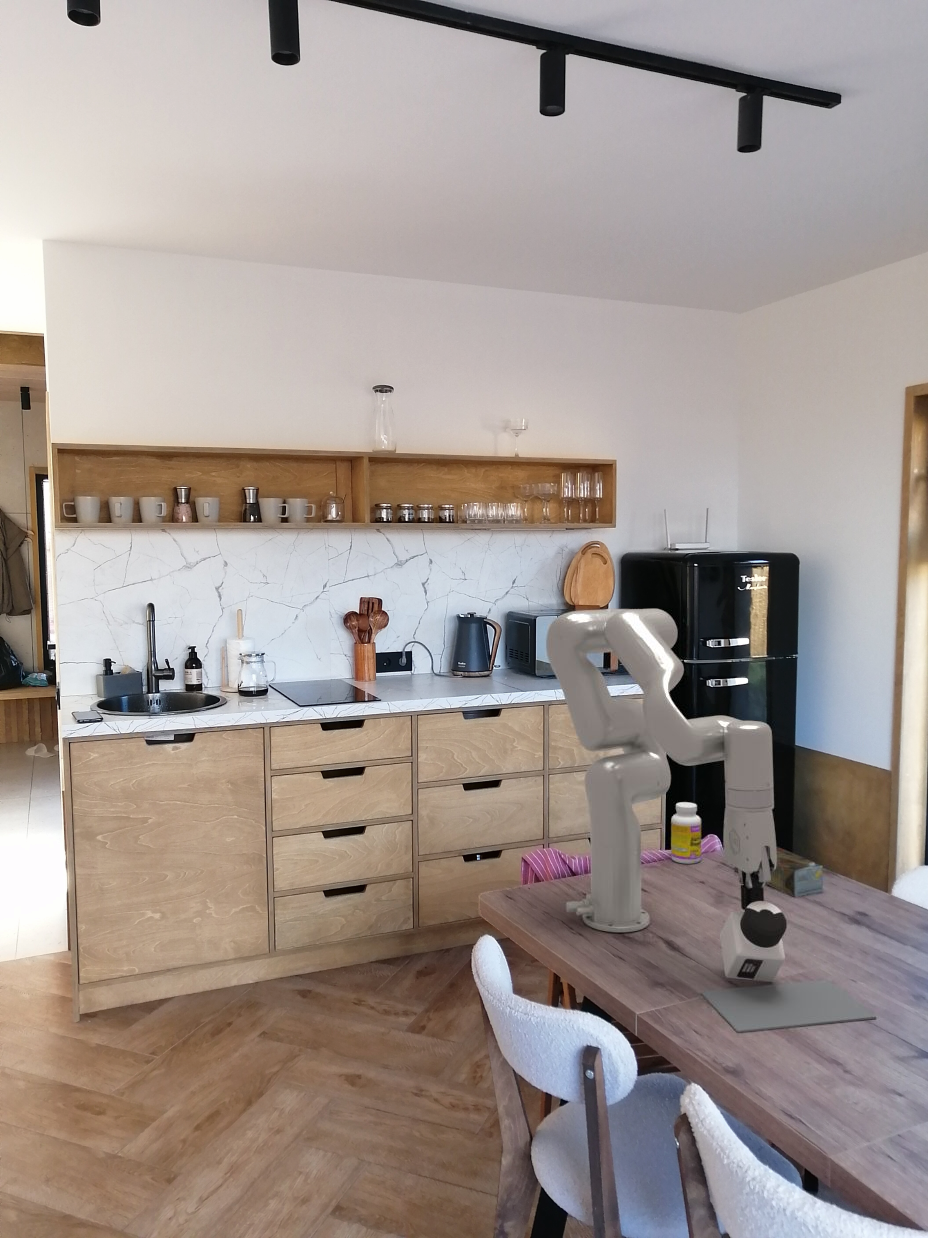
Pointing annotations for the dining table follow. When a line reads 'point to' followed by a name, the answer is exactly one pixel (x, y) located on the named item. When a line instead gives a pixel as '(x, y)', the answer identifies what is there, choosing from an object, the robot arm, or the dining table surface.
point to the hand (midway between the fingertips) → (752, 909)
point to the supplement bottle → (686, 834)
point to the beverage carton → (795, 874)
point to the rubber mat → (785, 1005)
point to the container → (754, 942)
